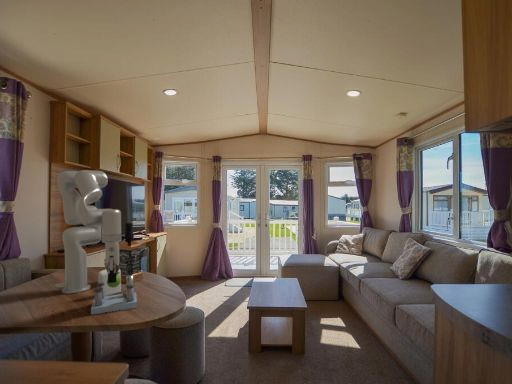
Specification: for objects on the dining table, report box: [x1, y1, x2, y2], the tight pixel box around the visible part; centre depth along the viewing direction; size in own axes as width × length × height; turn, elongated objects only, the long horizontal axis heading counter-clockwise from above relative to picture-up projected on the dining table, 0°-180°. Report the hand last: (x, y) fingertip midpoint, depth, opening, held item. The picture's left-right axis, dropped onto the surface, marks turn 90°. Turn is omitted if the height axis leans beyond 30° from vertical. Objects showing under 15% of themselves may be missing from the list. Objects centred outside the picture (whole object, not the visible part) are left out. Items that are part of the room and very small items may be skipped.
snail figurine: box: [104, 258, 122, 288], centre depth 130 cm, size 5×6×12 cm
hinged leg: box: [126, 275, 134, 285], centre depth 134 cm, size 8×3×8 cm, turn 23°
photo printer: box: [97, 268, 122, 296], centre depth 145 cm, size 10×4×12 cm, turn 140°
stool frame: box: [90, 282, 138, 316], centre depth 130 cm, size 17×14×9 cm
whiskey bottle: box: [119, 222, 143, 284], centre depth 169 cm, size 10×10×32 cm
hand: (112, 280), depth 130 cm, fingers closed on snail figurine, 5 cm apart
